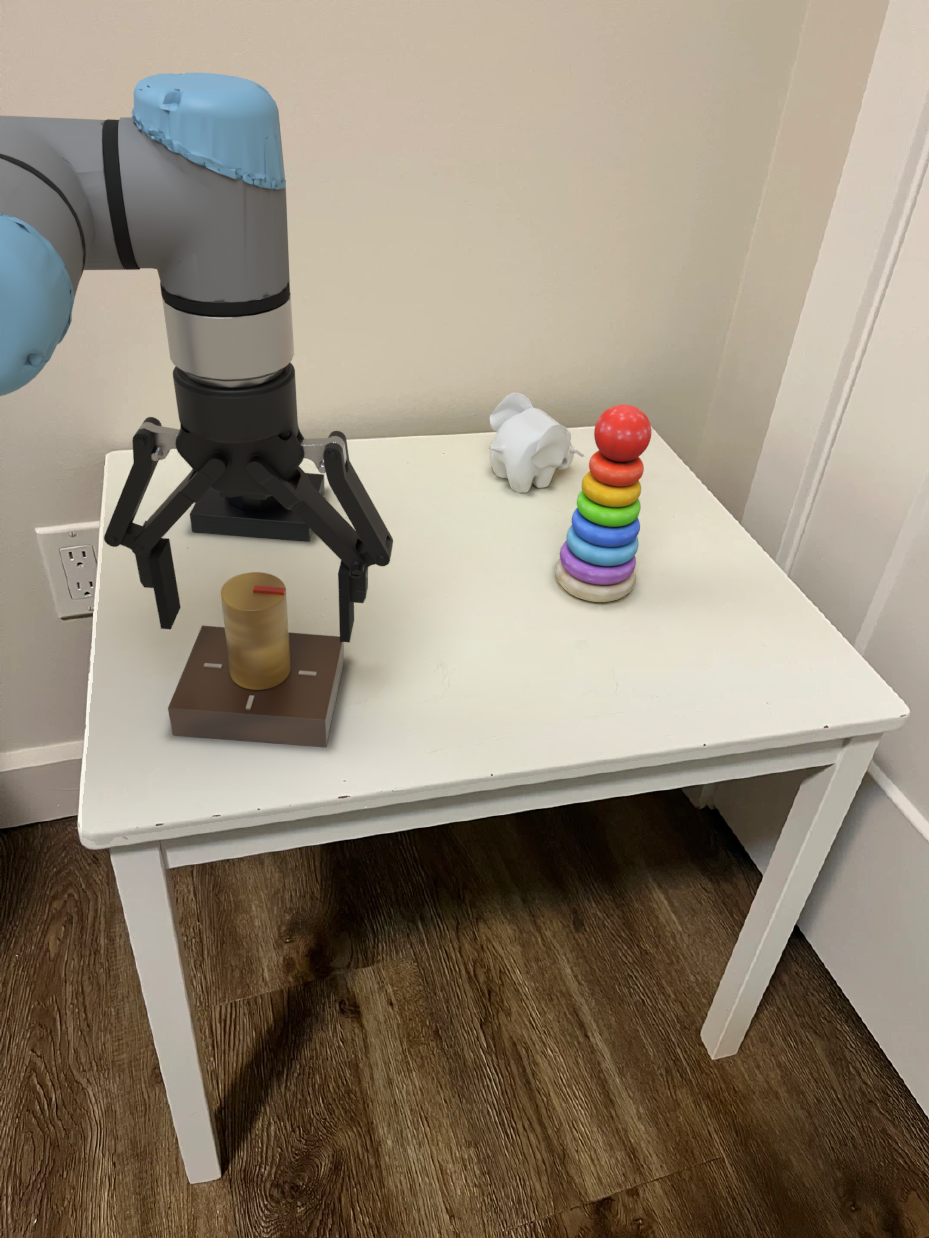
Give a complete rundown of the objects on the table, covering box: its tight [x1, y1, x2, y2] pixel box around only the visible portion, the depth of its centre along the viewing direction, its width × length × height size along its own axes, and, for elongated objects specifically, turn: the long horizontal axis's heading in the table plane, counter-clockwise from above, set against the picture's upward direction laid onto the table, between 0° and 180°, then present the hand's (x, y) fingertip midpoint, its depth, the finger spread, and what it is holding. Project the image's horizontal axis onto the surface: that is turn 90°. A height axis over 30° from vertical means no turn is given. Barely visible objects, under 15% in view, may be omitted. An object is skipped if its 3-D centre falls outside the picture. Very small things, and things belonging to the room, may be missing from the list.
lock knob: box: [220, 571, 291, 690], centre depth 71 cm, size 5×5×8 cm
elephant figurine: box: [489, 391, 586, 494], centre depth 104 cm, size 10×12×9 cm
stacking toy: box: [555, 404, 652, 603], centre depth 86 cm, size 8×8×19 cm
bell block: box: [189, 472, 325, 542], centre depth 96 cm, size 12×10×4 cm
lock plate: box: [167, 625, 345, 748], centre depth 74 cm, size 12×10×3 cm
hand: (259, 625), depth 70 cm, fingers open, 13 cm apart
